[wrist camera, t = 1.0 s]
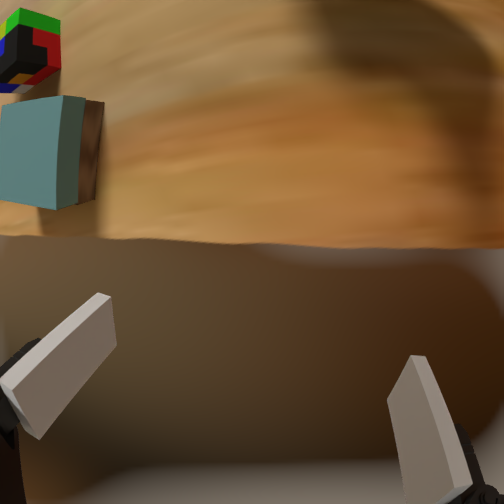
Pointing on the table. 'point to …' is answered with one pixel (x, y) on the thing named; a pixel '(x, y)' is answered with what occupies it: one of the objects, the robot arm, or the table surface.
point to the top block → (41, 151)
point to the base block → (89, 150)
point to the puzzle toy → (28, 50)
